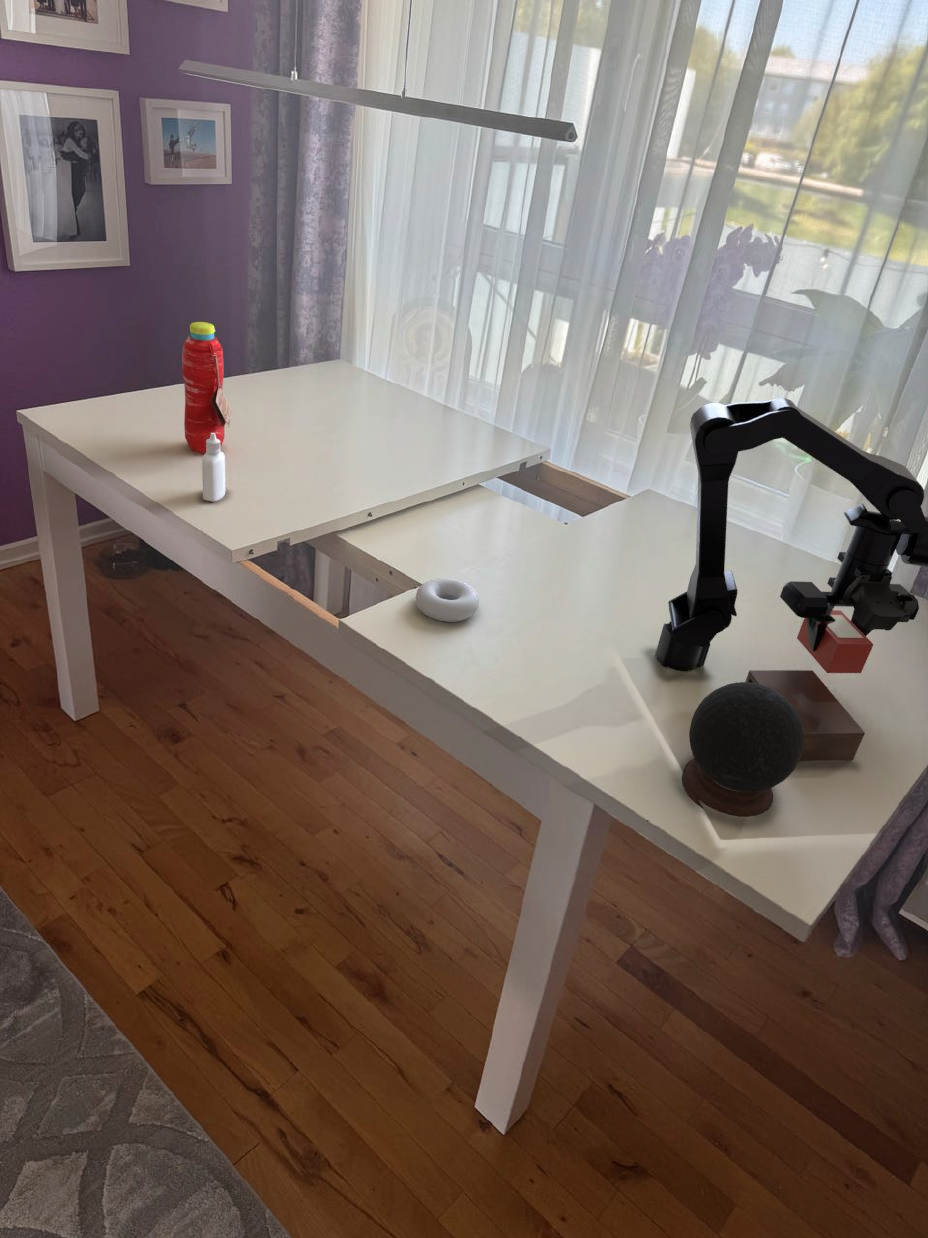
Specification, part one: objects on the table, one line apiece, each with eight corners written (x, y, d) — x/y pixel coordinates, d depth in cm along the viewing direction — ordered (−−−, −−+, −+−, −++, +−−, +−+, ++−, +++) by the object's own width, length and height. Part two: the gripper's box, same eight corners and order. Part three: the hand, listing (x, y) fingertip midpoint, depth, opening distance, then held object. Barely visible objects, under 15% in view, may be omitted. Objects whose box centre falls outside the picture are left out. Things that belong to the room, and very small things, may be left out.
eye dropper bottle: (194, 495, 164) (191, 432, 158) (218, 488, 169) (217, 426, 162) (209, 504, 162) (208, 440, 156) (234, 496, 166) (233, 433, 160)
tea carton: (826, 673, 129) (839, 643, 126) (796, 638, 136) (807, 609, 133) (861, 673, 130) (874, 643, 127) (829, 638, 137) (840, 609, 134)
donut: (456, 634, 136) (489, 607, 144) (459, 615, 135) (492, 588, 142) (401, 610, 140) (436, 585, 148) (403, 591, 138) (438, 567, 146)
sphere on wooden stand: (785, 777, 117) (823, 683, 109) (772, 842, 106) (814, 743, 99) (685, 742, 121) (715, 648, 113) (663, 801, 110) (695, 703, 102)
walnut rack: (783, 766, 119) (796, 734, 116) (738, 700, 131) (749, 670, 128) (851, 764, 121) (865, 732, 118) (800, 700, 133) (812, 670, 130)
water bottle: (243, 457, 182) (243, 331, 169) (208, 465, 176) (206, 336, 163) (210, 437, 188) (207, 314, 175) (175, 444, 183) (170, 318, 170)
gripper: (838, 584, 116) (798, 682, 124) (963, 587, 120) (917, 682, 128) (796, 543, 125) (762, 637, 133) (914, 547, 129) (874, 638, 137)
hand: (829, 649), depth 132 cm, fingers closed on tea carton, 5 cm apart
